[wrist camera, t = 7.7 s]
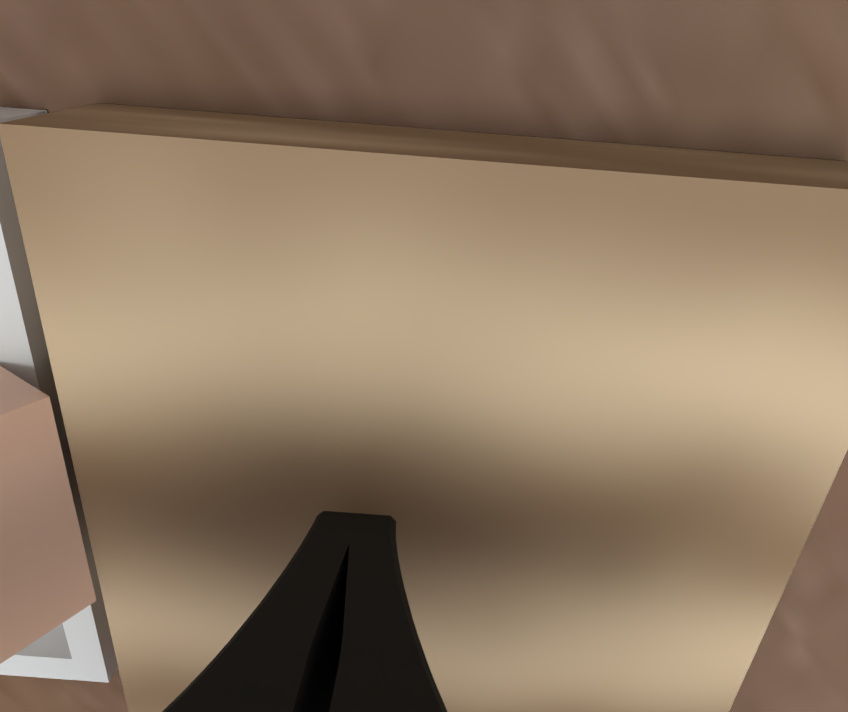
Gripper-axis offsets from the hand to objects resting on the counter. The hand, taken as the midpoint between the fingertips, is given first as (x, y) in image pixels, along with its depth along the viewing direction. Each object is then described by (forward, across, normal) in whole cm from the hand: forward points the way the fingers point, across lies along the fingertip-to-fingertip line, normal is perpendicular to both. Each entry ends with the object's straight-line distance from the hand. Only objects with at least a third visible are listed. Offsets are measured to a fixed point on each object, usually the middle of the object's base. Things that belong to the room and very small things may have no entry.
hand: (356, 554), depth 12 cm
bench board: (+4, -2, 0) cm, 4 cm away
